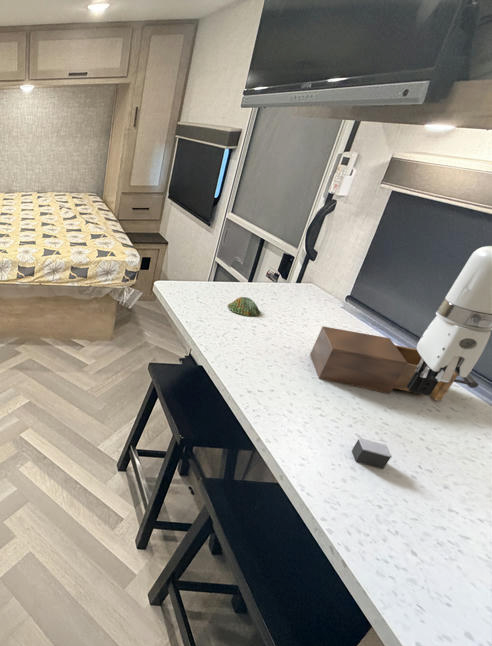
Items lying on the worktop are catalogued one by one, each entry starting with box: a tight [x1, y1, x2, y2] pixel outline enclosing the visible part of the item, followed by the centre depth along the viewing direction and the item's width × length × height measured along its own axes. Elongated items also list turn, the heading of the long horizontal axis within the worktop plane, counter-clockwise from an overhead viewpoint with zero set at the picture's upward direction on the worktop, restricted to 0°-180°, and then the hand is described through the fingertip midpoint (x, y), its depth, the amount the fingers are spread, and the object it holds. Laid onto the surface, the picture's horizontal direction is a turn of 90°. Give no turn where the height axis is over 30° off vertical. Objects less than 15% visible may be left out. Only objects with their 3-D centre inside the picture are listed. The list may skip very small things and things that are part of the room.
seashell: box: [227, 296, 261, 317], centre depth 140 cm, size 10×4×10 cm
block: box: [351, 437, 393, 470], centre depth 81 cm, size 4×3×4 cm
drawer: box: [393, 344, 479, 402], centre depth 100 cm, size 19×11×8 cm, turn 63°
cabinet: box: [309, 326, 408, 395], centre depth 105 cm, size 15×13×10 cm
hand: (417, 391), depth 82 cm, fingers closed
